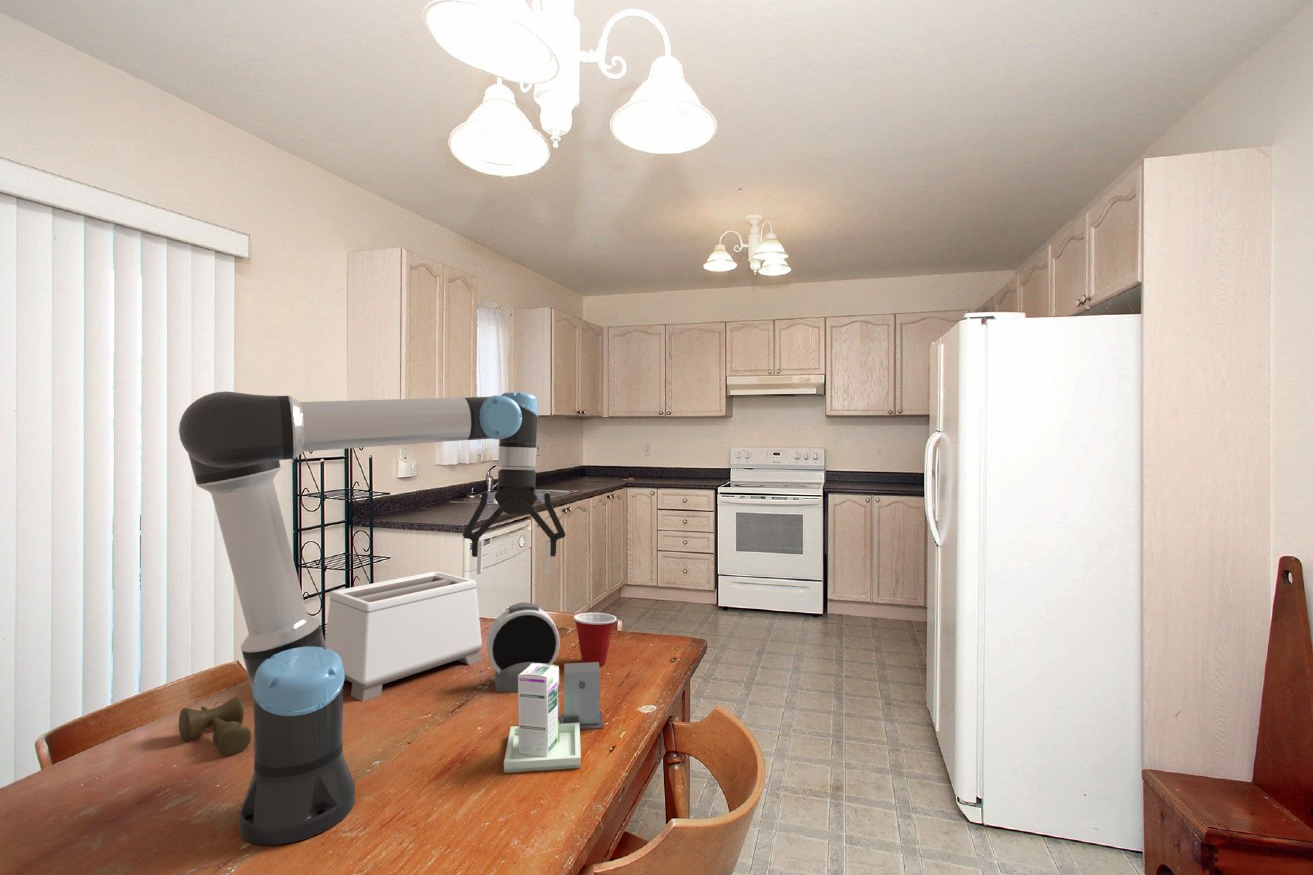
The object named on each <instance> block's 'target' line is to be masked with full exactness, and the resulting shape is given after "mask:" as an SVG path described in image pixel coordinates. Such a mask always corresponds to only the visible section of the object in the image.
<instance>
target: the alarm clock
mask: <svg viewBox="0 0 1313 875" xmlns="http://www.w3.org/2000/svg"><path fill="white" fill-rule="evenodd" d="M557 628H558V627H557V626H556V624H555V622H554V620H553V618H551V616H550V615H549V614H548V612H546V611H545V610H543V609H541V608H540V607H539V605H538V604H536V603H533V602H526V601H525V602H519V603H515V604H513V605H510V606H508V609H507V610H505V611H503V612H502V613H501V614H499V616H497V617H496V619H495V620H494V621H493V623H492V624H491V626H490V628H489V630H488V634H487V637H486V638H487V640H486V646H487V654H488V659H489V661H490V663H491V666H492V668H493V669H494V670H495V675H494V686H495V691H496V692H497V691H498V692H497V693H518V675H519V674H520V673H522V672H523V671H524V670H525V669H526V668H528V667H529V666H530V664H531V663H533V664H536V663H541V664H551V665H554V663H555V661H556V658H557V657H558V654H559V652H560V645H561V644H560V643H561V641H560V640H561V639H560V632H559V631H558V629H557Z"/></svg>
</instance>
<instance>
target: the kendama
mask: <svg viewBox="0 0 1313 875" xmlns="http://www.w3.org/2000/svg"><path fill="white" fill-rule="evenodd" d="M244 715H245V709H244V703H243V700H242V699H241V697H239V696H238V695H235V696H233V697H232V698H230V699H229V700H227V701H226V702H224V703H223V704H221V705H219V706H217V707H213V708H210V709H208V708H207V707H206V706H203V705H202V706H201V707H200V709H199V710H198V709H194V708H189V707H184V708H182V709H181V710H180V711H179V714H178V716H179V717H178V731H179V736H180V738H181V740H182V741H183V742H185V743H188V742H189V741H191V740H192V739H193V738H195V736H197V735H198V734H200V733H202V731H204V730H207V729H209V728H213V729H214V732H213V734H212V741H213V742H212V743H214V745H215V746H217V750H218V753H219V754H220V756H223V757H226V758H227V757H231V756H234V755H235V756H236V755H238V754H241V753H243V752H244V751H245V750H246V749H247V748H248V747H249V745H250V744H251V741H252V740H251V739H252V733H251V732H252V731H251V730H250V728H248V727H247V726H243V725H242V724H243V721H244V717H245V716H244Z"/></svg>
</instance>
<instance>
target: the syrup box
mask: <svg viewBox="0 0 1313 875" xmlns="http://www.w3.org/2000/svg"><path fill="white" fill-rule="evenodd" d="M517 705H518V706H517V708H518V709H517V711H518V712H517V715H518V716H517V722H518V725H517V726H518V738H519V739H518V740H519V753H520V754H524V755H530V756H538V757H548V756H549V754H550V753H551V752H552V751H553V749H554V748H555V747H556V746H557V744H558V743H559V741H560V739H559V724H560V668H559V665H557V664H556V665H555V664H552V665H551V664H541V663H536V664H533V663H531V664H530V666H529V667H528V668H526V669H525V670H524V671H523V672H522V673H520V674H519V675H518V692H517Z"/></svg>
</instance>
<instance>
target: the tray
mask: <svg viewBox="0 0 1313 875" xmlns="http://www.w3.org/2000/svg"><path fill="white" fill-rule="evenodd" d="M518 739H519V738H518V725H515V726H514V725H513V726H512V725H511V726H510V729H509V735H508V739H507V744H506V750H505V756H504V760H503V774H507V773H508V774H510V773H523V772H525V773H526V772H537V771H541V772H542V771H553V770H554V771H555V770H570V769H581V768H582V766H581V764H582V763H581V762H582V757H581V755H582V754H581V753H582V752H581V729H580V725H579V723H564V724H560V723H559V739H560V741H559V743H558V744H557V746H556V747H555V748H554V749H553V751H552V752H551V753H550V754H549V756H548V757H538V756H530V755H524V754H520V753H519V740H518Z"/></svg>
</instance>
